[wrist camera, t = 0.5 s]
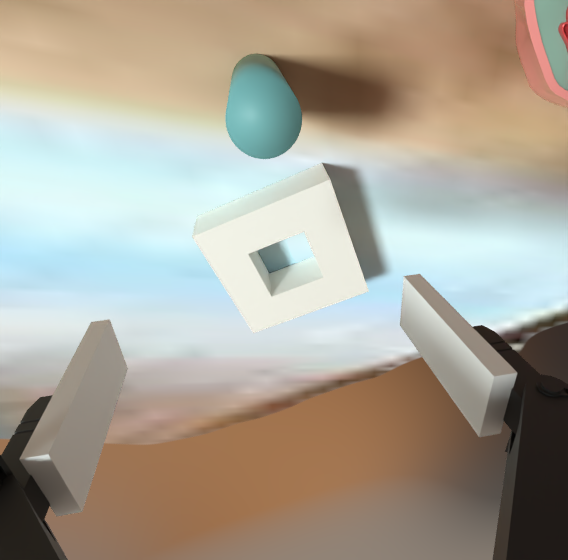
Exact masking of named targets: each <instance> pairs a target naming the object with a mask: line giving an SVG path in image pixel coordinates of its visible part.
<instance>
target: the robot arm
mask: <svg viewBox="0 0 568 560" xmlns="http://www.w3.org/2000/svg"><path fill="white" fill-rule="evenodd" d="M400 326H401V327H402V329H403V330H404V332H405V333H406V335H407V336H408V337H409V339H410V340H411V342H412V343H413V344H414V346H415V347H416V349H417V350H418V351H419V353H420V354H421V356H422V357H423V358H424V360H425V361H426V363H427V364H428V366H429V367H430V368H431V370H432V371H433V373H434V374H435V375H436V377H437V378H438V380H439V381H440V382H441V384H442V385H443V387H444V388H445V390H446V391H447V392H448V394H449V395H450V397H451V398H452V399H453V401H454V402H455V404H456V405H457V406H458V408H459V409H460V411H461V412H462V413H463V415H464V416H465V418H466V419H467V421H468V422H469V423H470V425H471V426H472V428H473V429H474V430H475V432H476V433H477V435H478V436H479V437H483V436H489V435H494V434H499V433H501V430H502V426H503V422H504V421H505V423H506V424H507V425H508V426H509V428H510V429H511V430H512V431H511V434H510V438H509V441H508V444H507V448H506V452H507V460H506V467H505V475H504V482H503V490H502V496H501V504H500V511H499V518H498V525H497V532H496V539H495V547H494V554H493V560H568V384H566V383H565V382H563V381H562V380H560V379H557V378H555V377H552V376H547V375H540V374H539V373H538V372H537V371H536V370H535V369H534V368H533V367H531V365H530V364H528V363H527V362H526V361H525V360H524V359H523V358H522V357H521V356H520V355H519V354H518V353H517V352H516V351H515V350H512V347H511V346H509V345H508V344H507V343H505V341H504V340H503V339H502V338H501V337H500V336H499V335H498V334H497V333H496V332H494V331H492V330H490V329H488V328H487V327H485V326H483V325H481V326H474V327H472V326H471V325H470V324H469V323H468V322H467V321H466V320H465V319H464V318H463V317H462V316H461V315H460V314H459V313H458V312H457V311H456V310H455V309H454V308H453V307H452V306H451V305H450V304H449V303H448V302H447V301H446V300H445V299H444V298H443V297H442V296H441V295H440V294H439V293H438V292H437V291H436V290H435V289H434V288H433V287H432V286H431V285H430V284H429V283H428V282H427V281H426V280H425V279H424V278H423V277H422V276H421V275H420V274H416V275H409V276H404V281H403V294H402V306H401V319H400ZM127 369H128V368H127V365H126V362H125V360H124V357H123V354H122V352H121V349H120V346H119V343H118V341H117V338H116V335H115V333H114V330H113V327H112V325H111V322H110V320H103V321H97V322H91V324H90V326H89V327H88V329H87V331H86V333H85V335H84V337H83V339H82V341H81V343H80V345H79V346H78V348H77V350H76V352H75V354H74V356H73V358H72V360H71V362H70V364H69V366H68V367H67V369H66V371H65V373H64V375H63V377H62V379H61V381H60V383H59V385H58V386H57V388H56V390H55V392H54V394H53V395H52V396H46V397H40V398H39V399H38V400H37V401H36V402H35V403H34V404H33V405H32V406H31V407H30V408H29V409H28V410H27V412H26V413H25V415H24V417H23V419H22V420H21V424H19V426H18V427H17V429H16V431H15V435H13V436H12V438H11V439H10V442H9V443H8V445H7V446H6V448H5V450H4V452H3V454H2V455H0V560H68V559H67V558H66V556H65V554H64V552H63V551H62V549H61V547H60V545H59V543H58V542H57V540H56V538H55V536H54V534H53V533H52V531H51V529H50V527H49V526H48V524H47V522H46V521H45V519H44V518H45V516H46V513H47V511H48V508H49V506H50V507H51V509H52V510H53V512H54V513H55V515H56V516H62V515H67V514H72V513H78V512H82V511H83V507H84V504H85V501H86V498H87V495H88V491H89V489H90V485H91V482H92V479H93V476H94V473H95V470H96V467H97V463H98V460H99V457H100V454H101V451H102V448H103V445H104V441H105V438H106V435H107V432H108V429H109V426H110V423H111V420H112V416H113V413H114V410H115V407H116V404H117V401H118V398H119V394H120V391H121V388H122V385H123V382H124V379H125V376H126V372H127Z"/></svg>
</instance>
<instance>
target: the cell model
mask: <svg viewBox="0 0 568 560" xmlns="http://www.w3.org/2000/svg"><path fill="white" fill-rule="evenodd" d="M514 5H515V14H516V28H515V41H516V48H517V52H518V55H519V59H520V62H521V64H522V67H523V69H524V72H525V75H526V78H527V81H528V84H529V86H530V88H531V89H532V91H534V92H535V93H536V94H537V95H538V96H540V97H541V98H543V99H544V100H547V101H549V102H551V103H553V104H556V105H559V106H562V107H566V108H568V0H514Z"/></svg>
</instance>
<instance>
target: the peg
mask: <svg viewBox="0 0 568 560" xmlns="http://www.w3.org/2000/svg"><path fill="white" fill-rule="evenodd" d="M301 125H302V113H301V108H300V105H299V102H298V100H297V98H296V96H295V95H294V93H293V91H292V90H291V88H290V87H289V85H288V83H287V82H286V80H285V78H284V77H283V75H282V73H281V72H280V70H279V68H278V67H277V65H276V64H275V63H274V62H273V61H272V60H271V59H270V58H269V57H267V56H264V55H261V54H251V55H248V56H246V57H244V58H242V59H241V60H240V61H239V62H238V63H237V65H236V66H235V68H234V71H233V74H232V79H231V85H230V91H229V97H228V103H227V109H226V127H227V131H228V133H229V136H230V138H231V140H232V141H233V143H234V144H235V145H236V146H237V147H238V148H239V149H240V150H241V151H242V152H244V153H245V154H247V155H249V156H251V157H254V158H259V159H270V158H274V157H277V156H279V155H281V154H283V153H285V152H286V151H287V150H288V149H290V148H291V147H292V145H293V144H294V143H295V141H296V140H297V138H298V136H299V133H300V130H301Z"/></svg>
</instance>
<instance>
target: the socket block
mask: <svg viewBox="0 0 568 560" xmlns="http://www.w3.org/2000/svg"><path fill="white" fill-rule="evenodd" d="M302 232H304V233H305V235H306V237H307V240H308V242H309V245H310V247H311V249H312V252H313V254H314V256H313V257H311V258H308V259H306V260H303V261H301V262H298V263H295V264H293V265H290V266H288V267H285V268H282V269H280V270H277V271H275V272H272V273H269V272H268V270H267V268H266V266H265V265H264V263H263V261H262V259H261V257H260V255H259V253H258V251H257V250H259V249H262V248H264V247H267V246H269V245H272V244H274V243H277V242H280V241H282V240H285V239H287V238H290V237H292V236H295V235H297V234H300V233H302ZM192 237H193V239H194V240H195V242H196V244H197V245H198V247H199V248H200V250H201V251H202V253H203V255H204V256H205V258H206V259H207V261H208V262H209V264H210V266H211V267H212V269H213V270H214V272H215V273H216V275H217V277H218V278H219V280H220V281H221V283H222V285H223V286H224V288H225V289H226V291H227V292H228V294H229V296H230V297H231V299H232V300H233V302H234V303H235V305H236V307H237V308H238V310H239V311H240V313H241V314H242V316H243V318H244V319H245V321H246V322H247V324H248V325H249V327H250V329H251V330H252V332H253V333H256V332H258V331H261V330H264V329H267V328H269V327H272V326H275V325H278V324H280V323H283V322H286V321H289V320H291V319H294V318H297V317H300V316H302V315H305V314H308V313H311V312H313V311H316V310H319V309H322V308H324V307H327V306H330V305H333V304H335V303H338V302H341V301H344V300H346V299H349V298H352V297H355V296H357V295H360V294H363V293H366V292H368V288H367V285H366V282H365V279H364V276H363V273H362V270H361V267H360V264H359V262H358V259H357V256H356V253H355V250H354V247H353V244H352V241H351V238H350V235H349V232H348V230H347V227H346V224H345V221H344V218H343V215H342V212H341V209H340V206H339V203H338V201H337V198H336V195H335V192H334V189H333V186H332V183H331V180H330V178H329V176H328V174H327V172H326V170H325V168H324V166H323V164H322V163H320V164H318V165H316V166H313V167H311V168H309V169H306V170H304V171H302V172H299V173H297V174H295V175H292V176H290V177H287V178H285V179H283V180H280V181H278V182H276V183H273V184H271V185H269V186H266V187H264V188H262V189H259V190H257V191H255V192H252V193H250V194H247V195H245V196H243V197H240V198H238V199H236V200H233V201H231V202H229V203H226V204H224V205H222V206H219V207H217V208H215V209H212V210H210V211H207V212H205V213H203V214H200V215H198V216H197V217H196V222H195V226H194V231H193V235H192Z"/></svg>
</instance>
